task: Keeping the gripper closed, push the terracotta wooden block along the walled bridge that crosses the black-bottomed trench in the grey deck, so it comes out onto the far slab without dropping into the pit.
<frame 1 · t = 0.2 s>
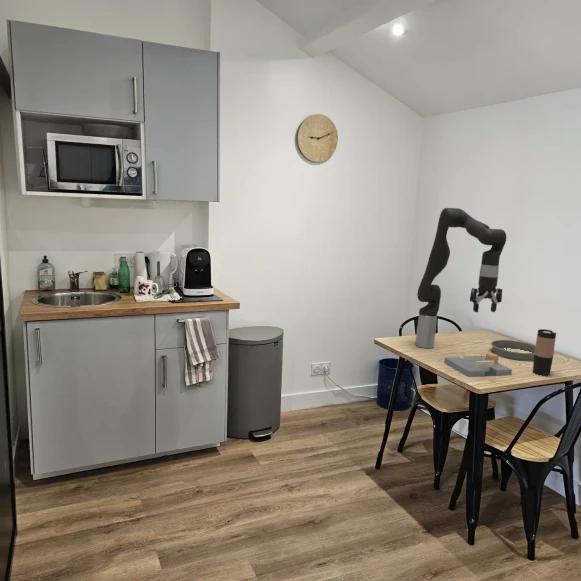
hand: (484, 311, 219), 29 cm above the table, tool pointing down, fingers open, 8 cm apart
tunnel deck: (476, 368, 232), on the table
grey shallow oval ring: (514, 355, 260), on the table
block: (491, 362, 234), point 2 cm above the table, touching tunnel deck
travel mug: (541, 373, 230), on the table
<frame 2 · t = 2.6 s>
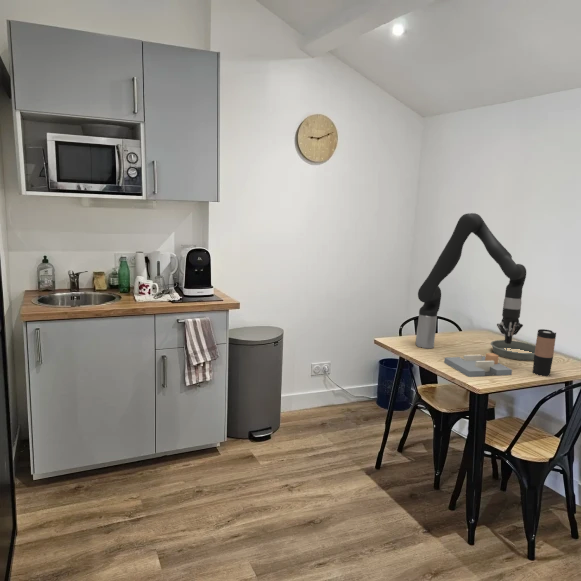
hand: (507, 343, 234), 12 cm above the table, tool pointing down, fingers closed
nothing on the table moved.
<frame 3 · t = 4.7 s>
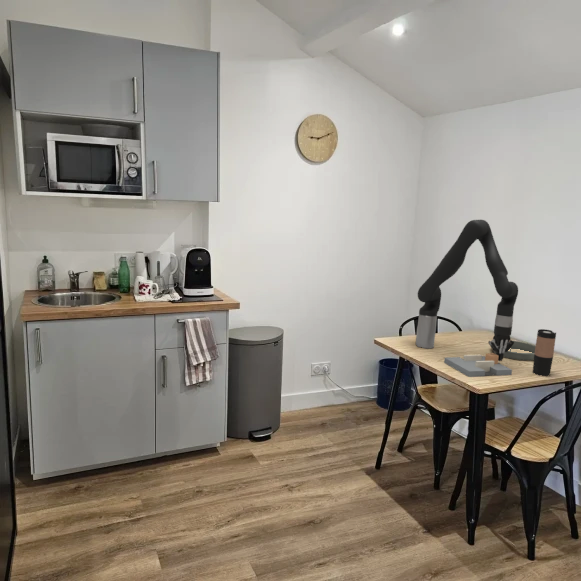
hand: (499, 360, 235), 4 cm above the table, tool pointing down, fingers closed
block: (491, 362, 234), point 3 cm above the table, touching gripper, tunnel deck
everything else where it was.
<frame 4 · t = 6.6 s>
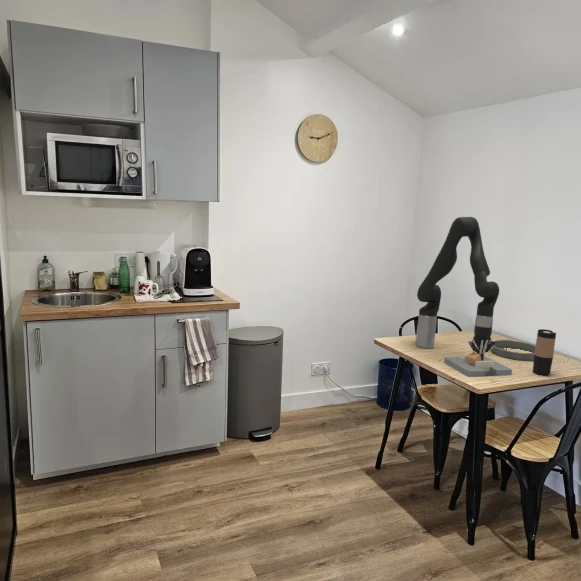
hand: (479, 361, 232), 4 cm above the table, tool pointing down, fingers closed
block: (475, 362, 230), point 3 cm above the table, tilted 24°, touching gripper
everything else where it was.
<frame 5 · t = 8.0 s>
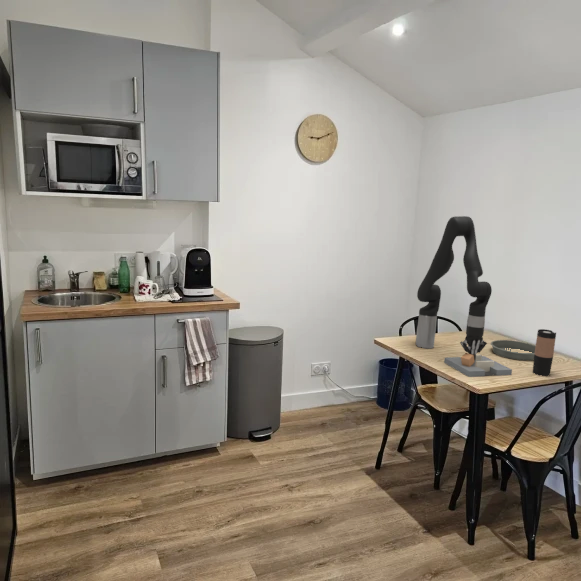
hand: (471, 361, 231), 4 cm above the table, tool pointing down, fingers closed
block: (468, 363, 229), point 3 cm above the table, tilted 23°, touching gripper, tunnel deck
everything else where it was.
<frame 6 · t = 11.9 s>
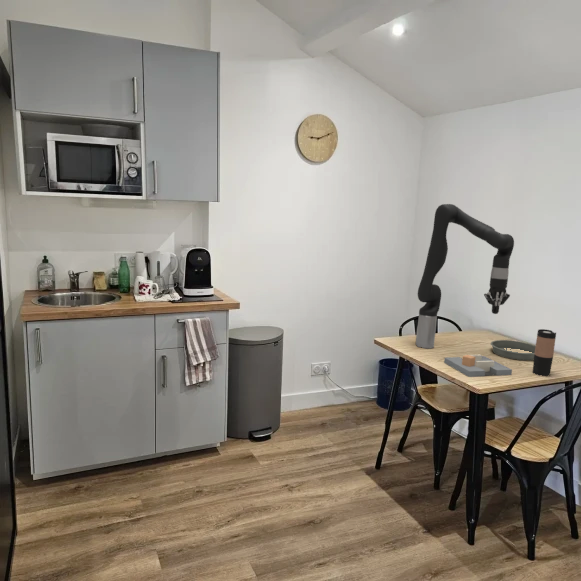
hand: (494, 313, 235), 25 cm above the table, tool pointing down, fingers closed
block: (468, 364, 229), point 2 cm above the table, touching tunnel deck
everything else where it was.
at the end: block 2.2 cm from the target spot, point 2.5 cm above the table; block tilted 0°; block touching tunnel deck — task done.
